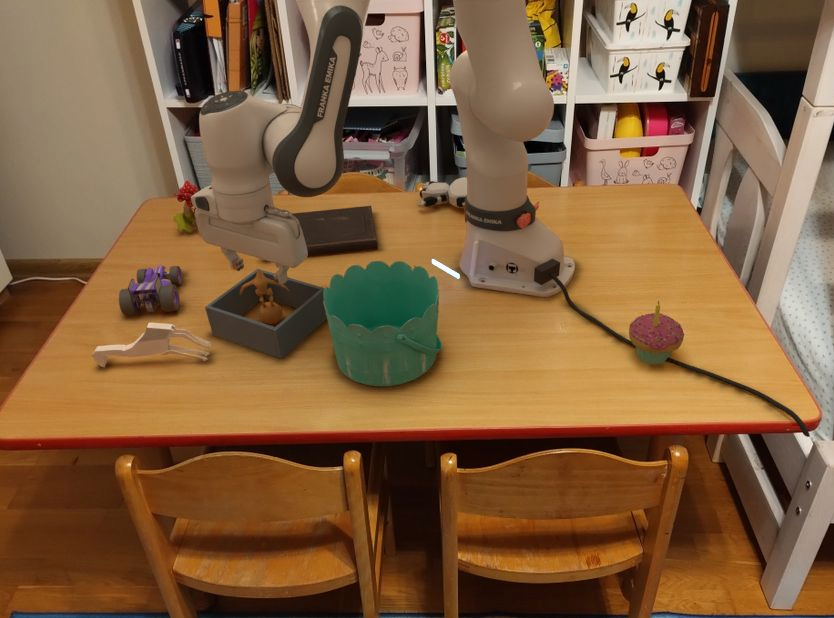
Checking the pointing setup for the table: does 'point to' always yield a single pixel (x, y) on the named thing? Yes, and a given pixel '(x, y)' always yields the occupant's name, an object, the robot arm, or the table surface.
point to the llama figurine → (152, 344)
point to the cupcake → (655, 336)
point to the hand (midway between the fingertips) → (259, 275)
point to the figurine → (268, 310)
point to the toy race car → (152, 291)
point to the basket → (383, 322)
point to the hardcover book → (338, 230)
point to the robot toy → (444, 193)
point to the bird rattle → (186, 208)
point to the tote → (261, 336)
